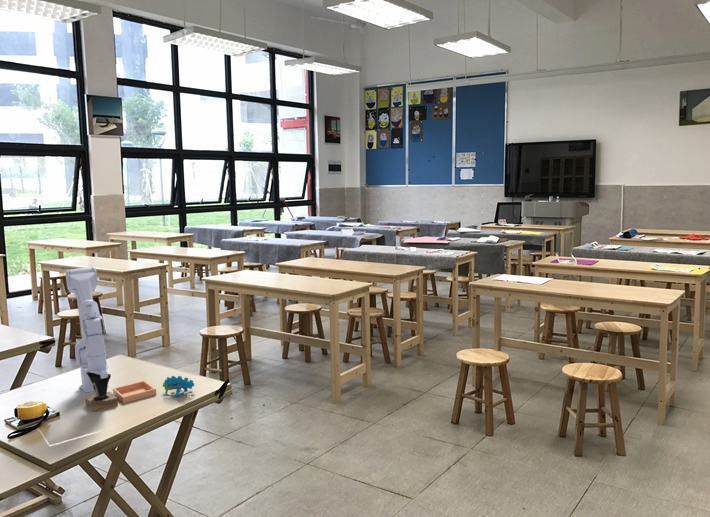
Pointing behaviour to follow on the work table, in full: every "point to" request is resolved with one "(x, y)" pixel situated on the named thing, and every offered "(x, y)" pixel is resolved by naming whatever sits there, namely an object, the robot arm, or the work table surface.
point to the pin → (98, 394)
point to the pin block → (101, 402)
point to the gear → (177, 384)
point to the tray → (134, 391)
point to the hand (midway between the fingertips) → (100, 393)
